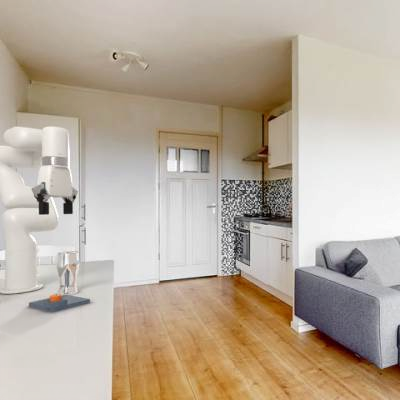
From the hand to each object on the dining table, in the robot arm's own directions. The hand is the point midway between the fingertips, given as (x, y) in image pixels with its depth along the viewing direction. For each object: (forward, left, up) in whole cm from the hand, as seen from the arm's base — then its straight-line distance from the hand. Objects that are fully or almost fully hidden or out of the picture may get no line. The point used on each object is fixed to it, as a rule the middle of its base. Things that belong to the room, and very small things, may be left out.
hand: (56, 214), depth 115 cm
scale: (+6, -2, -29) cm, 30 cm away
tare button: (+10, -6, -27) cm, 29 cm away
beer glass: (-8, +8, -29) cm, 31 cm away
